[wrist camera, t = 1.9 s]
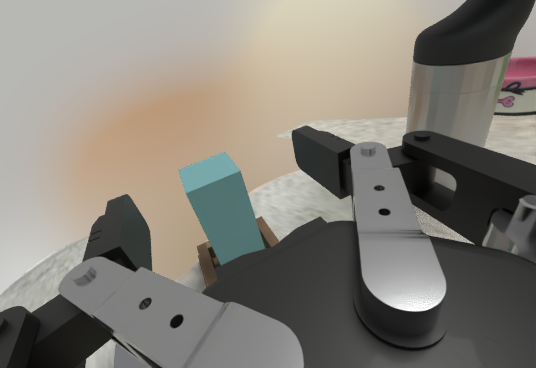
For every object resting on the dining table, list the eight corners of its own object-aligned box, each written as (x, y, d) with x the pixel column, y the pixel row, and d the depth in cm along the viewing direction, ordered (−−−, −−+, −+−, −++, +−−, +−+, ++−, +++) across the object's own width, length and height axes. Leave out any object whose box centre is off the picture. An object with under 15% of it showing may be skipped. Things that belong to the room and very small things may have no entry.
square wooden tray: (267, 228, 37) (263, 212, 36) (304, 280, 29) (300, 264, 27) (200, 260, 35) (192, 245, 33) (219, 327, 27) (210, 312, 25)
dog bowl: (440, 110, 57) (446, 79, 53) (470, 84, 66) (477, 55, 62) (558, 122, 44) (577, 81, 40) (577, 87, 53) (593, 51, 49)
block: (256, 243, 34) (225, 151, 26) (271, 269, 30) (240, 170, 22) (221, 260, 33) (178, 169, 25) (233, 289, 29) (185, 193, 21)
